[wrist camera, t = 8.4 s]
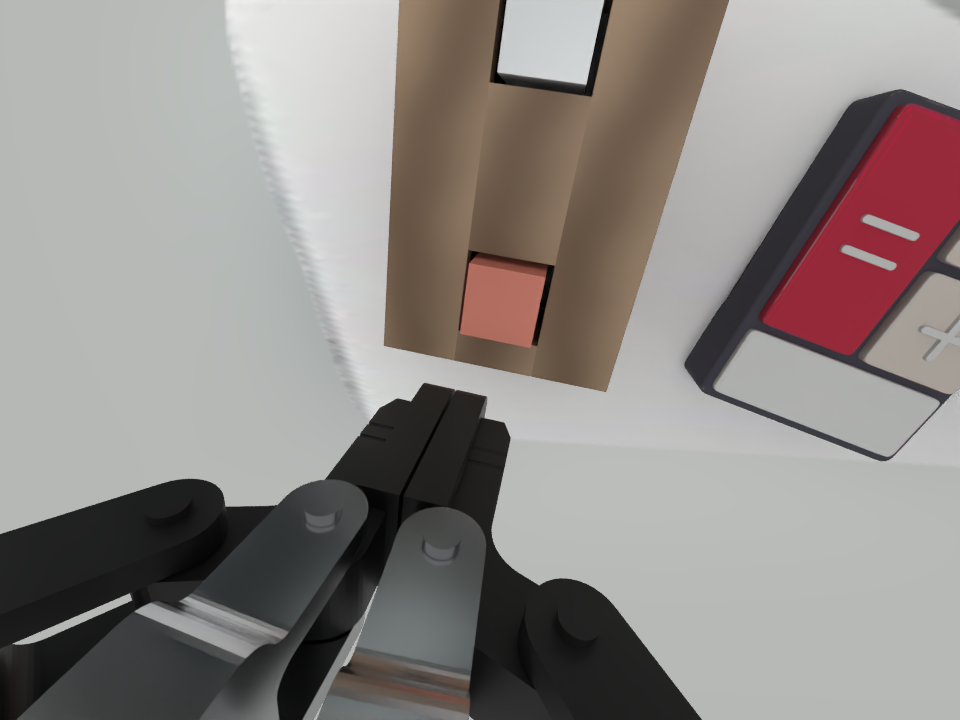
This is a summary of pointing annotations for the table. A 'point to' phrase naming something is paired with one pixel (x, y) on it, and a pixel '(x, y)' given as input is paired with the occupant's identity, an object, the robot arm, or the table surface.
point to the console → (535, 178)
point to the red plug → (502, 299)
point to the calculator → (853, 286)
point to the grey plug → (549, 43)
